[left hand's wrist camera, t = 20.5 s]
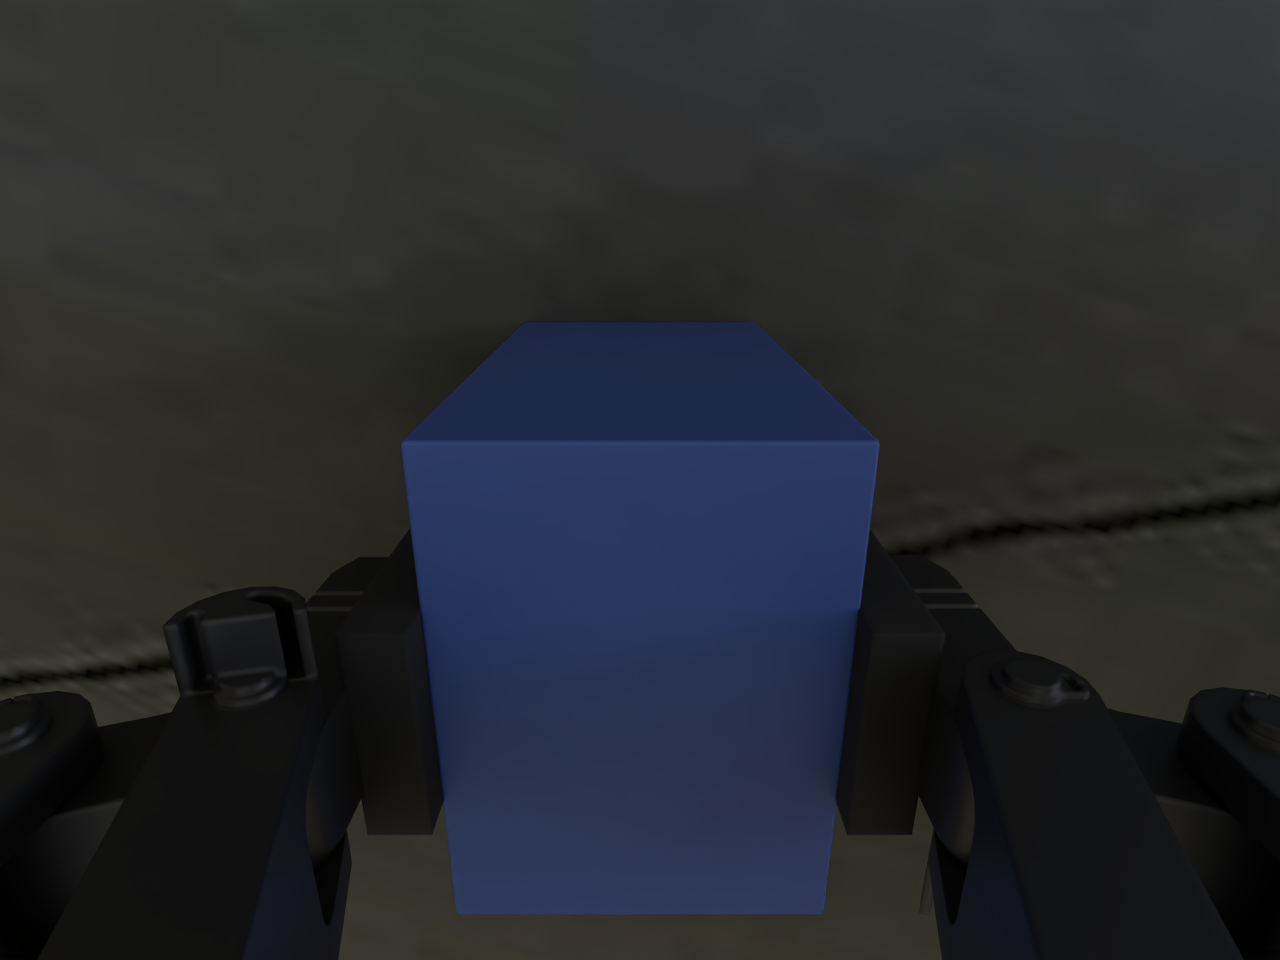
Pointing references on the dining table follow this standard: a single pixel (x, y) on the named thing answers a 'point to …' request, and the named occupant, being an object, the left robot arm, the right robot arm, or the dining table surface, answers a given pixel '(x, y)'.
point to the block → (639, 618)
